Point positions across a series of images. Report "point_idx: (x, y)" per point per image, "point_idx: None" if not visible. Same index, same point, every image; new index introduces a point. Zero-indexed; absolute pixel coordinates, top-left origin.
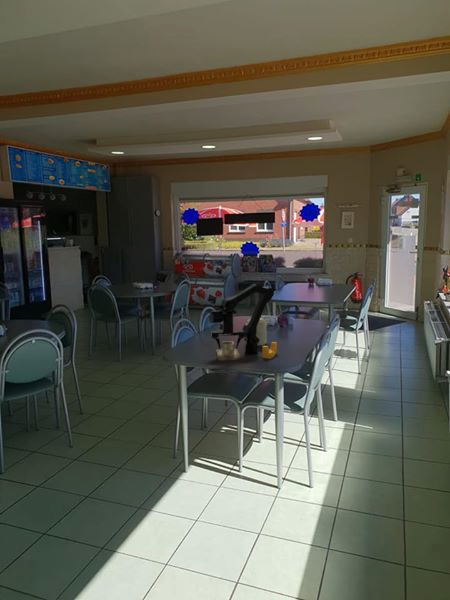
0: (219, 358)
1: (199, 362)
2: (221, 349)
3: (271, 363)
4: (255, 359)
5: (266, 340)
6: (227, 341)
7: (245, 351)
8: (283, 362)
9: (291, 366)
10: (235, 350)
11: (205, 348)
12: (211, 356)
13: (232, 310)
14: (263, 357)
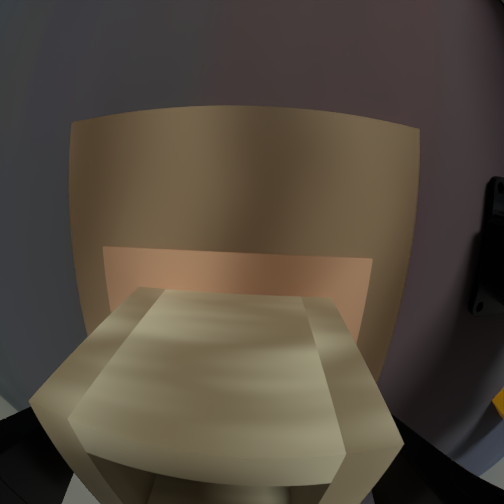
0: None
1: None
2: (145, 118)
3: None
4: (434, 442)
5: None
6: (192, 457)
7: (480, 279)
8: (498, 447)
9: (479, 475)
10: (385, 225)
11: (33, 22)
12: (55, 334)
13: None
14: (494, 404)
